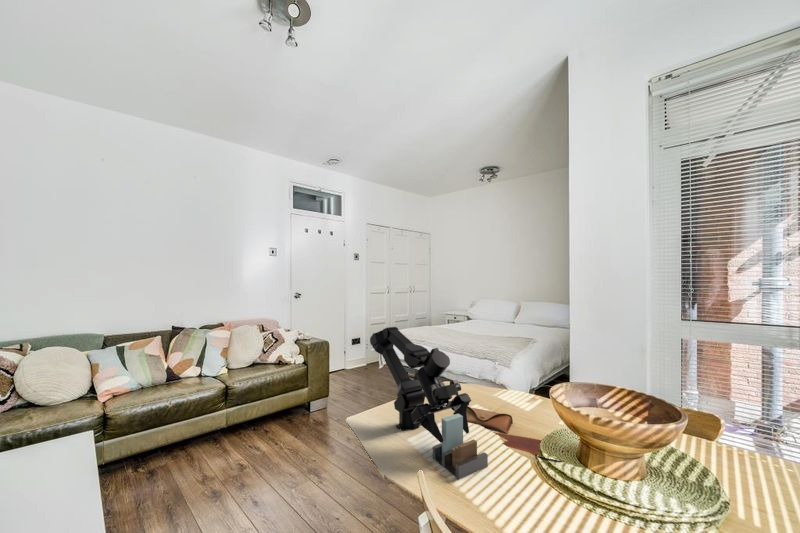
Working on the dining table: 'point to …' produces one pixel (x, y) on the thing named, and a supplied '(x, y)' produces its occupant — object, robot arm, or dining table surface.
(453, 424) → the tall sheet
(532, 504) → the dining table surface
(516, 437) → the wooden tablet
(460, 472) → the rack
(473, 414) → the sunglasses case
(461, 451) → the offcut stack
